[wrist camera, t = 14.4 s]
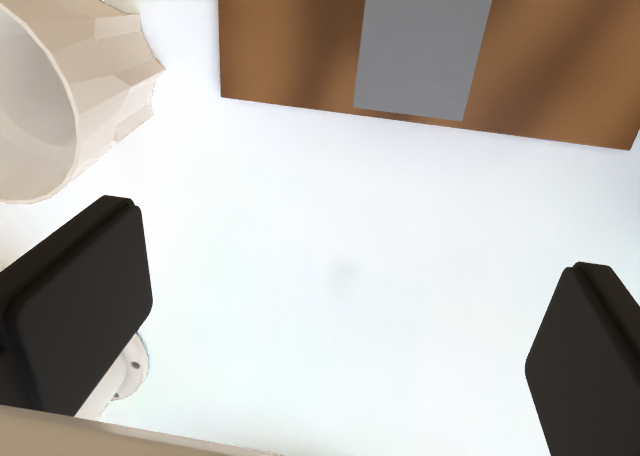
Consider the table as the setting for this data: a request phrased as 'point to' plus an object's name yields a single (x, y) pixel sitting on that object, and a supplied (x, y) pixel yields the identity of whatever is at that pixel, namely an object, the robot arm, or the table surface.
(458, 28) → the block
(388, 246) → the table surface
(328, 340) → the table surface
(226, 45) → the mat
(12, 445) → the robot arm
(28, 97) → the cup
